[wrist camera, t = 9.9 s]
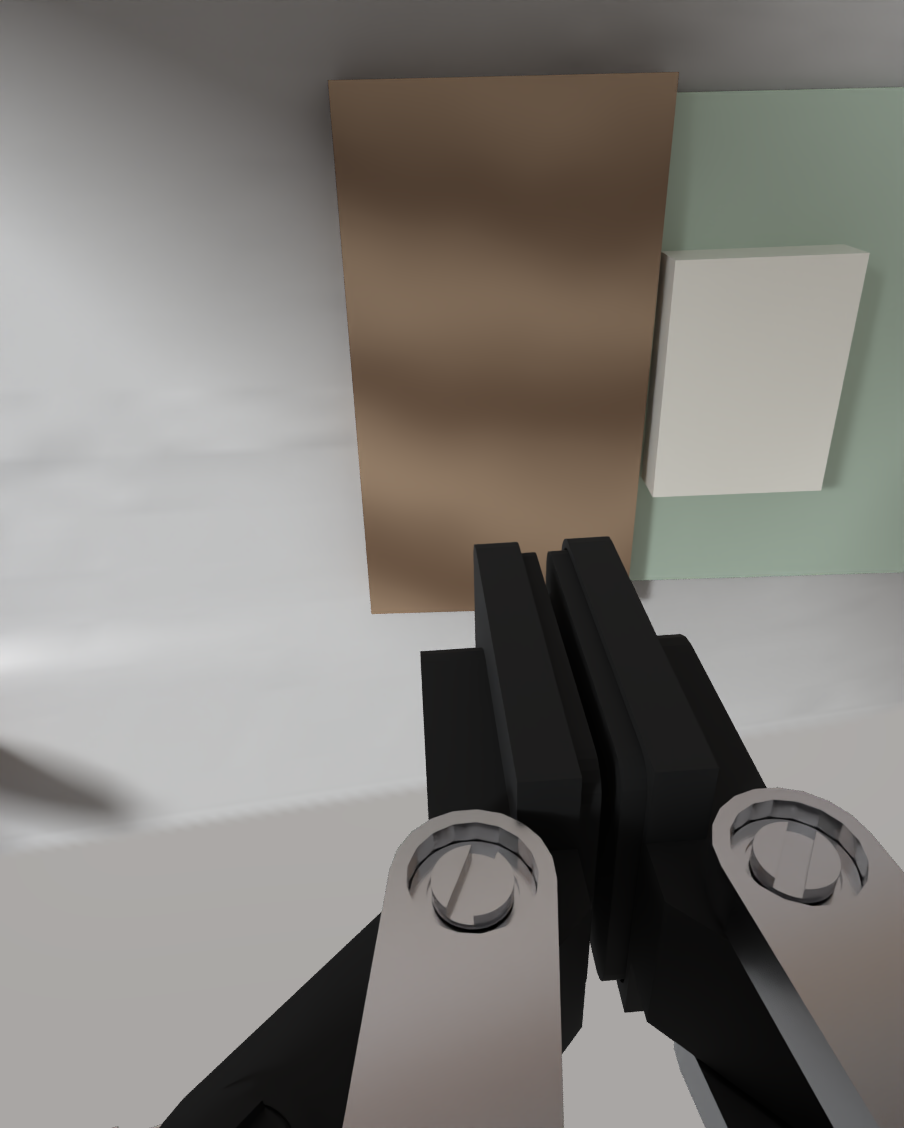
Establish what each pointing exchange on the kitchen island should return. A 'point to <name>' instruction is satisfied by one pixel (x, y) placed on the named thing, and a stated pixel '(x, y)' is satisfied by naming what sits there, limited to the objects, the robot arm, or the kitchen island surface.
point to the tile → (748, 367)
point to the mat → (879, 344)
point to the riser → (498, 313)
